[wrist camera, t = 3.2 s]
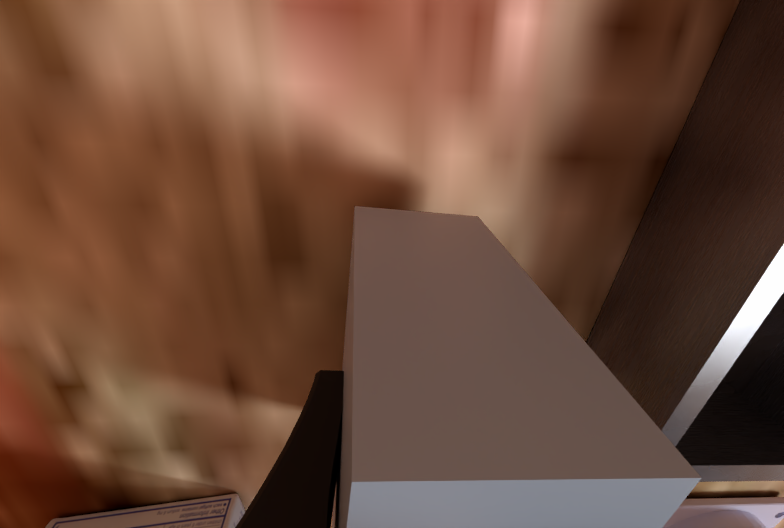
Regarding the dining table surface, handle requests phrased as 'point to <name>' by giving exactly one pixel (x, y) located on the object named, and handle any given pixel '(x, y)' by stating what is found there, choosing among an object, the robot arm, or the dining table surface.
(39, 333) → the dining table surface
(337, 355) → the dining table surface
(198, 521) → the medicine box
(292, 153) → the dining table surface
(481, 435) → the panel
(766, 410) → the rack
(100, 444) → the dining table surface
